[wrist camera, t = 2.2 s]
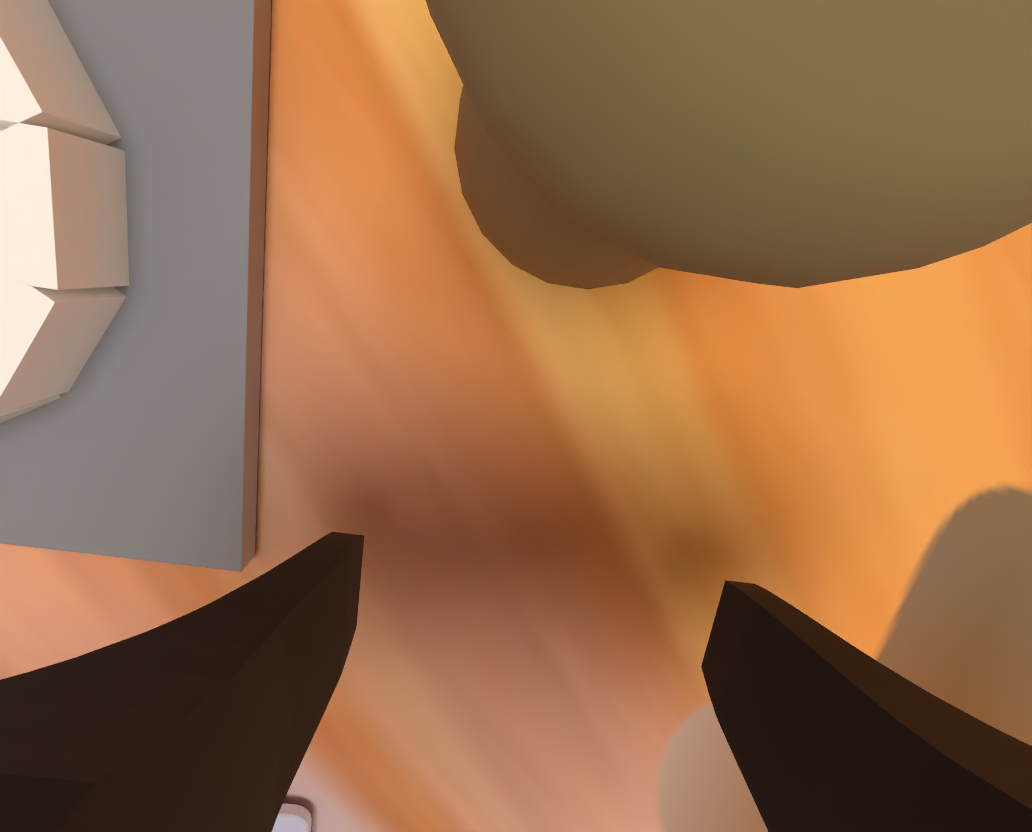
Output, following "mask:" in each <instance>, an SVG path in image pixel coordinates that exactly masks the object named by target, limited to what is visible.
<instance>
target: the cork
mask: <svg viewBox="0 0 1032 832" xmlns="http://www.w3.org/2000/svg"><path fill="white" fill-rule="evenodd" d="M426 3H427V6H428V9H429V12H430V15H431V17H432V19H433V21H434V23H435V25H436V28H437V30H438V32H439V34H440V36H441V38H442V40H443V42H444V44H445V46H446V48H447V51H448V53H449V55H450V57H451V59H452V61H453V63H454V65H455V67H456V69H457V71H458V74H459V76H460V78H461V80H462V82H463V89H462V94H461V99H460V105H459V114H458V123H457V131H456V140H455V154H456V160H457V165H458V171H459V177H460V183H461V188H462V194H463V196H464V198H465V200H466V202H467V204H468V206H469V208H470V210H471V212H472V214H473V216H474V218H475V220H476V222H477V224H478V226H479V228H480V230H481V232H482V234H483V235H484V236H485V237H486V238H487V239H488V240H489V241H490V242H491V243H492V244H493V245H494V246H495V247H496V248H497V249H498V250H499V251H500V252H501V253H502V254H503V255H504V256H505V257H506V258H507V259H508V260H509V261H510V262H511V264H513V265H515V266H517V267H519V268H521V269H522V270H524V271H526V272H528V273H530V274H532V275H534V276H536V277H538V278H540V279H542V280H543V281H545V282H547V283H552V284H558V285H564V286H571V287H577V288H583V289H592V288H598V287H604V286H610V285H616V284H622V283H628V282H630V281H632V280H634V279H636V278H638V277H640V276H642V275H644V274H646V273H648V272H650V271H652V270H654V269H656V268H657V267H660V268H667V269H673V270H679V271H685V272H691V273H697V274H703V275H709V276H716V277H722V278H728V279H734V280H740V281H746V282H752V283H758V284H767V285H776V286H784V287H793V288H800V287H806V286H812V285H818V284H824V283H830V282H836V281H842V280H849V279H855V278H861V277H867V276H873V275H879V274H885V273H891V272H897V271H903V270H909V269H915V268H919V267H922V266H925V265H928V264H931V263H934V262H938V261H941V260H944V259H947V258H950V257H953V256H956V255H959V254H962V253H965V252H968V251H971V250H974V249H977V248H980V247H983V246H985V245H987V244H989V243H991V242H993V241H995V240H997V239H999V238H1001V237H1003V236H1005V235H1007V234H1009V233H1011V232H1013V231H1016V230H1018V229H1020V228H1022V227H1024V226H1026V225H1028V224H1030V223H1032V0H426Z"/></svg>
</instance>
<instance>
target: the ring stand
mask: <svg viewBox="0 0 1032 832" xmlns="http://www.w3.org/2000/svg"><path fill="white" fill-rule="evenodd" d="M270 32H271V0H0V543H2V544H11V545H19V546H28V547H36V548H45V549H53V550H62V551H71V552H79V553H88V554H96V555H105V556H113V557H122V558H130V559H139V560H147V561H156V562H164V563H173V564H182V565H190V566H199V567H207V568H216V569H224V570H233V571H242V570H243V569H244V568H245V566H246V565H247V564H248V563H249V562H250V561H251V559H252V558H253V557H254V556H255V539H256V505H257V471H258V437H259V404H260V370H261V336H262V302H263V268H264V235H265V201H266V167H267V133H268V99H269V66H270Z"/></svg>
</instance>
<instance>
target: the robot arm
mask: <svg viewBox="0 0 1032 832" xmlns="http://www.w3.org/2000/svg"><path fill="white" fill-rule="evenodd" d="M363 543H364V536H362V535H354V534H346V533H338V532H331V533H329V534H328V535H326V536H324V537H323V538H321V539H319V540H318V541H316V542H315V543H313V544H311V545H310V546H308V547H307V548H305V549H304V550H302V551H300V552H299V553H297V554H296V555H294V556H293V557H291V558H289V559H288V560H286V561H284V562H283V563H281V564H279V565H278V566H276V567H275V568H273V569H271V570H270V571H268V572H266V573H265V574H263V575H261V576H260V577H258V578H256V579H254V580H252V581H250V582H249V583H247V584H245V585H243V586H241V587H239V588H238V589H236V590H234V591H232V592H230V593H228V594H227V595H225V596H223V597H221V598H219V599H217V600H216V601H214V602H212V603H210V604H208V605H205V606H203V607H201V608H199V609H197V610H195V611H193V612H191V613H189V614H187V615H184V616H182V617H180V618H177V619H175V620H173V621H171V622H168V623H166V624H164V625H161V626H159V627H157V628H154V629H152V630H149V631H147V632H144V633H142V634H139V635H137V636H134V637H131V638H128V639H125V640H123V641H120V642H117V643H114V644H112V645H109V646H106V647H103V648H101V649H98V650H95V651H92V652H90V653H87V654H84V655H81V656H78V657H76V658H72V659H69V660H66V661H63V662H60V663H57V664H53V665H50V666H47V667H44V668H40V669H37V670H34V671H30V672H27V673H23V674H20V675H16V676H13V677H9V678H5V679H2V680H0V832H311V822H312V818H311V814H310V813H309V811H308V810H307V809H306V808H304V807H303V806H300V805H296V804H285V803H283V802H284V799H285V797H286V794H287V792H288V790H289V788H290V785H291V783H292V781H293V779H294V777H295V775H296V772H297V770H298V768H299V766H300V764H301V762H302V759H303V757H304V755H305V753H306V751H307V749H308V746H309V744H310V742H311V740H312V738H313V736H314V733H315V731H316V729H317V727H318V725H319V723H320V720H321V718H322V716H323V714H324V712H325V709H326V707H327V705H328V703H329V701H330V698H331V696H332V694H333V692H334V690H335V688H336V685H337V683H338V681H339V679H340V676H341V674H342V671H343V668H344V665H345V661H346V658H347V655H348V652H349V649H350V646H351V643H352V639H353V636H354V633H355V630H356V625H357V614H358V602H359V590H360V578H361V566H362V555H363ZM701 667H702V670H703V674H704V678H705V681H706V685H707V688H708V692H709V695H710V698H711V701H712V704H713V707H714V710H715V714H716V716H717V719H718V721H719V723H720V726H721V728H722V730H723V733H724V735H725V737H726V739H727V742H728V744H729V746H730V748H731V750H732V753H733V755H734V757H735V759H736V762H737V764H738V766H739V768H740V770H741V773H742V774H743V777H744V779H745V781H746V783H747V786H748V788H749V790H750V792H751V794H752V797H753V798H754V801H755V803H756V805H757V807H758V810H759V812H760V814H761V816H762V818H763V821H764V822H765V825H766V827H767V829H768V832H1032V746H1030V745H1028V744H1026V743H1024V742H1021V741H1019V740H1018V739H1016V738H1014V737H1012V736H1010V735H1007V734H1005V733H1003V732H1001V731H1000V730H998V729H996V728H993V727H992V726H990V725H987V724H986V723H984V722H982V721H980V720H978V719H976V718H975V717H973V716H971V715H969V714H967V713H965V712H963V711H962V710H960V709H958V708H956V707H954V706H952V705H950V704H949V703H947V702H945V701H943V700H941V699H939V698H938V697H936V696H934V695H932V694H931V693H929V692H927V691H925V690H924V689H922V688H920V687H918V686H917V685H915V684H913V683H912V682H910V681H909V680H907V679H905V678H904V677H902V676H900V675H899V674H897V673H895V672H894V671H892V670H890V669H889V668H887V667H885V666H884V665H882V664H880V663H879V662H877V661H876V660H874V659H873V658H871V657H870V656H868V655H866V654H865V653H863V652H862V651H860V650H859V649H857V648H856V647H854V646H852V645H851V644H849V643H848V642H846V641H845V640H843V639H842V638H840V637H839V636H837V635H836V634H834V633H833V632H831V631H830V630H828V629H827V628H825V627H824V626H822V625H821V624H819V623H818V622H816V621H815V620H813V619H812V618H810V617H809V616H807V615H806V614H804V613H803V612H801V611H800V610H798V609H796V608H795V607H793V606H792V605H790V604H789V603H787V602H786V601H784V600H782V599H781V598H779V597H778V596H776V595H774V594H773V593H771V592H769V591H767V590H766V589H764V588H762V587H760V586H758V585H756V584H750V583H742V582H734V581H726V580H725V584H724V587H723V591H722V595H721V598H720V602H719V605H718V609H717V612H716V616H715V619H714V623H713V627H712V630H711V634H710V637H709V641H708V644H707V648H706V652H705V655H704V659H703V662H702V666H701Z"/></svg>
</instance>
